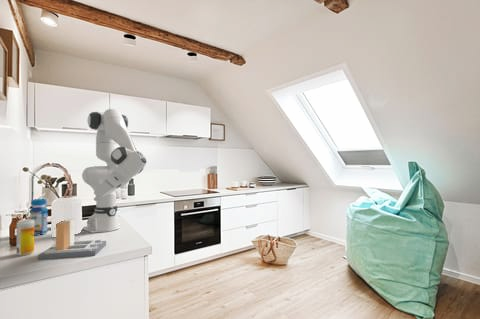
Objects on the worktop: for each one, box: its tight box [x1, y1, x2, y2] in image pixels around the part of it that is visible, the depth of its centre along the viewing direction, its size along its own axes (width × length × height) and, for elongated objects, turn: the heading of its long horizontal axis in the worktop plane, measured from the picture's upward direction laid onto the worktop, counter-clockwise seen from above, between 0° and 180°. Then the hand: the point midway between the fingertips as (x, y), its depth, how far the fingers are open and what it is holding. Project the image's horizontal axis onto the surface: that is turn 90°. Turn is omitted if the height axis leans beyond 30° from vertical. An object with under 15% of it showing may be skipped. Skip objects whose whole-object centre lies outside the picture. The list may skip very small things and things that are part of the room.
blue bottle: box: [28, 198, 49, 236], centre depth 146 cm, size 8×8×20 cm
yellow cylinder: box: [16, 218, 35, 257], centre depth 114 cm, size 6×6×15 cm
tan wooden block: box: [55, 221, 69, 250], centre depth 113 cm, size 3×5×12 cm, turn 12°
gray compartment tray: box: [37, 218, 107, 260], centre depth 116 cm, size 22×15×14 cm
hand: (95, 199), depth 121 cm, fingers closed
